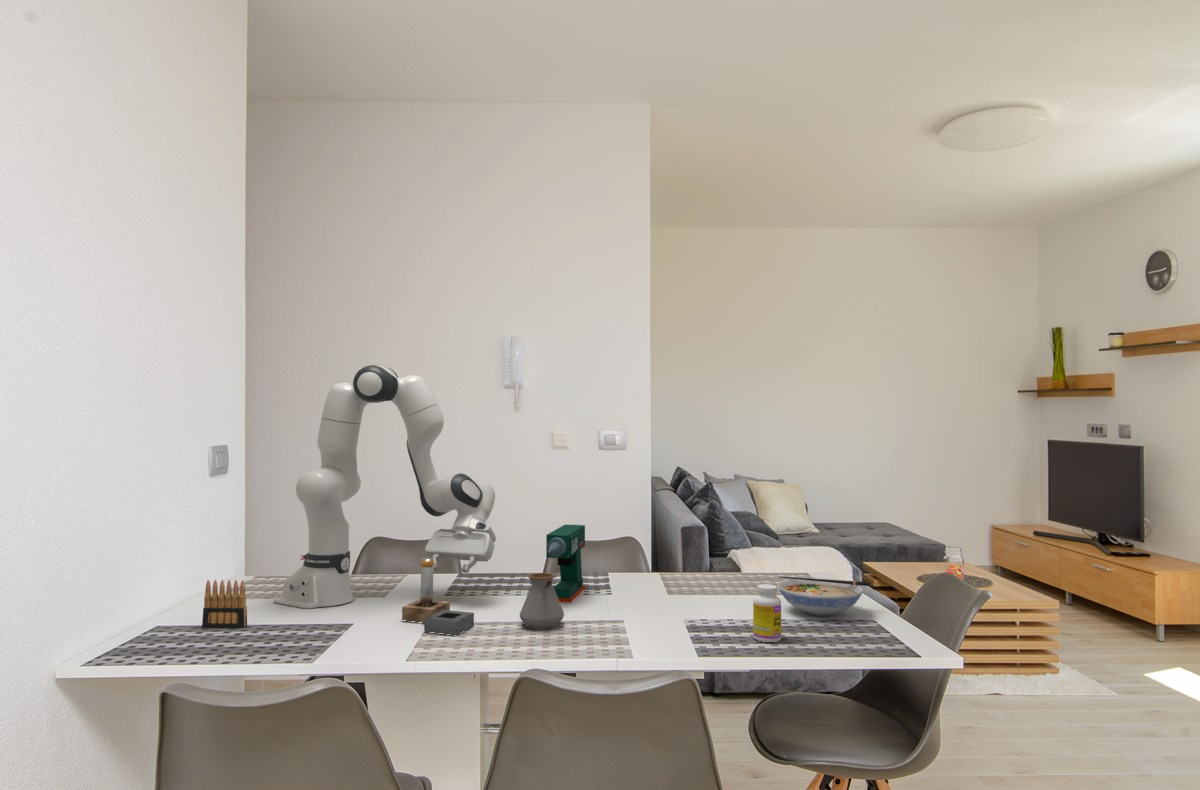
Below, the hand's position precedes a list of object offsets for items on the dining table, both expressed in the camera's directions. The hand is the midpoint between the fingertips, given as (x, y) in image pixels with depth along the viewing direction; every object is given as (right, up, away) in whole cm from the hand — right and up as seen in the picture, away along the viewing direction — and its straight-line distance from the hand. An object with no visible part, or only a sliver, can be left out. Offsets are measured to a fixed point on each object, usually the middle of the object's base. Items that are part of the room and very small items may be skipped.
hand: (449, 570), depth 212 cm
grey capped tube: (-4, -9, -12) cm, 15 cm away
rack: (-4, -10, -12) cm, 16 cm away
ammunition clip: (-53, -10, -20) cm, 58 cm away
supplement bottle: (+83, -10, -29) cm, 88 cm away
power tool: (+32, -11, +9) cm, 35 cm away
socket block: (+4, -10, -22) cm, 24 cm away
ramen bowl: (+103, -11, -4) cm, 104 cm away
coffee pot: (+28, -10, -22) cm, 38 cm away
